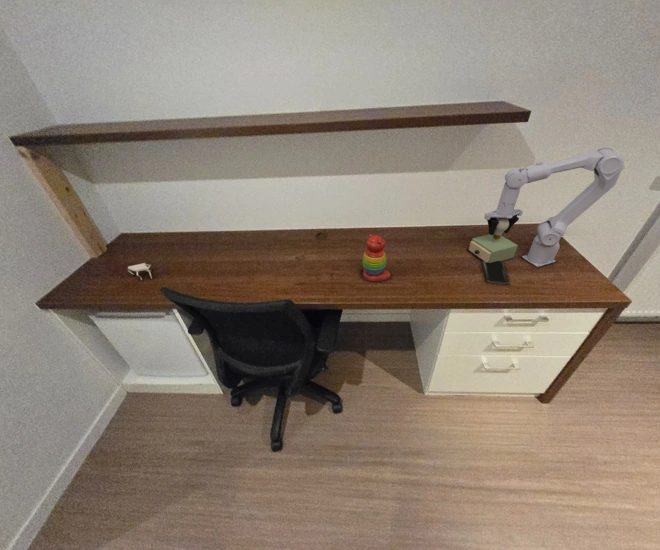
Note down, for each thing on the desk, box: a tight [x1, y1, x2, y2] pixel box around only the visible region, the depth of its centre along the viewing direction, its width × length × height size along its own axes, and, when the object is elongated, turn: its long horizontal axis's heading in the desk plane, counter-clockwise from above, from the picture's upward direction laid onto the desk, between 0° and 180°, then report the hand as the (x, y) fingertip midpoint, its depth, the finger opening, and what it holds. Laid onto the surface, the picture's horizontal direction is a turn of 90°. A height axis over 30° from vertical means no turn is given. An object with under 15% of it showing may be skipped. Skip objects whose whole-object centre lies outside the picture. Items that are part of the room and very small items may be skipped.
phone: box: [481, 259, 509, 286], centre depth 119 cm, size 8×1×15 cm
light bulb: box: [493, 218, 509, 240], centre depth 122 cm, size 6×6×10 cm
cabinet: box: [471, 233, 518, 263], centre depth 127 cm, size 12×12×6 cm
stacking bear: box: [361, 233, 392, 282], centre depth 117 cm, size 11×10×18 cm
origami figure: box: [127, 262, 153, 281], centre depth 130 cm, size 12×8×5 cm
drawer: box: [468, 240, 491, 262], centre depth 127 cm, size 13×11×4 cm
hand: (497, 233), depth 123 cm, fingers closed on light bulb, 5 cm apart
